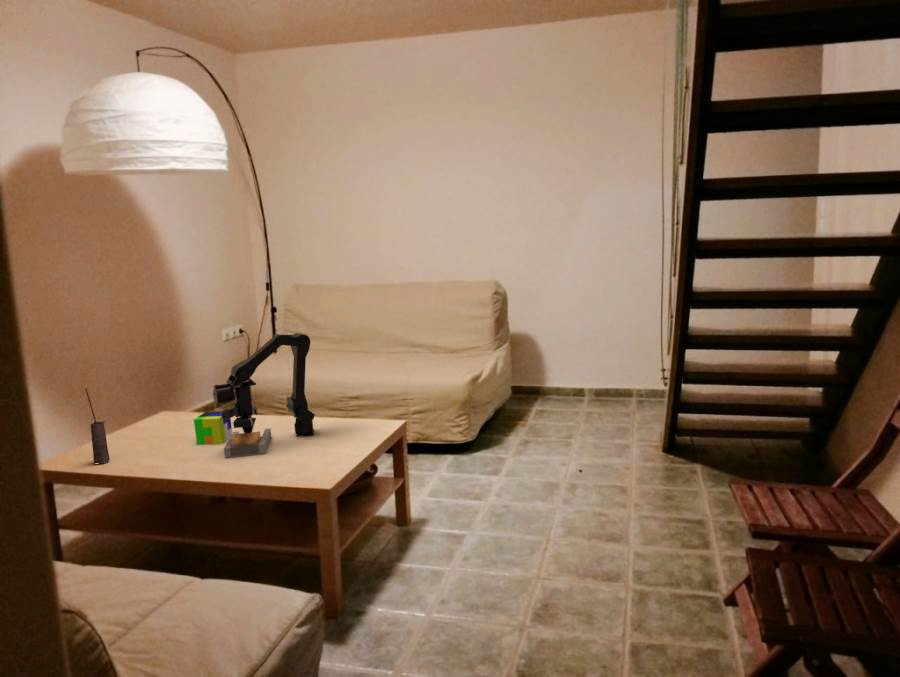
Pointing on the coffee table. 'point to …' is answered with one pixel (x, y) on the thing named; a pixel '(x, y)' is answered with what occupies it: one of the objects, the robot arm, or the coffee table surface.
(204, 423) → the puzzle toy
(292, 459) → the coffee table surface
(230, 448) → the chute
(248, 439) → the orange block
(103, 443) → the butter churn
